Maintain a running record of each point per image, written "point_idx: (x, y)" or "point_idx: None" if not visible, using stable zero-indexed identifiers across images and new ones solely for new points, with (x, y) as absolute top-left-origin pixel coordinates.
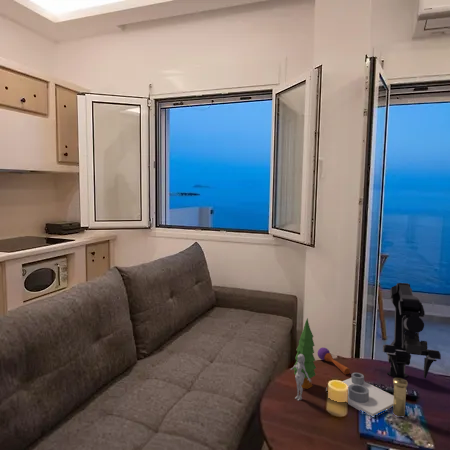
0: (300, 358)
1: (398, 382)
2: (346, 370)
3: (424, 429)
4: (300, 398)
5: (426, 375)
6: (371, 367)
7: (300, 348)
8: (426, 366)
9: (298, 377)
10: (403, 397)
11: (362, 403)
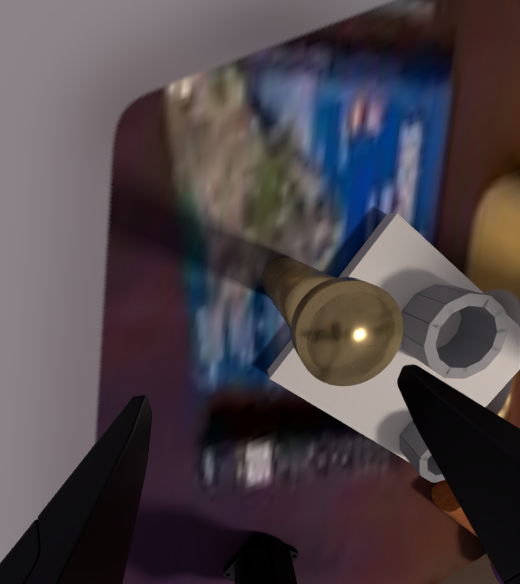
0: None
1: (370, 304)
2: (453, 497)
3: (193, 205)
4: None
5: (114, 421)
6: (346, 569)
7: None
8: (50, 573)
9: None
10: (296, 277)
11: (425, 283)
